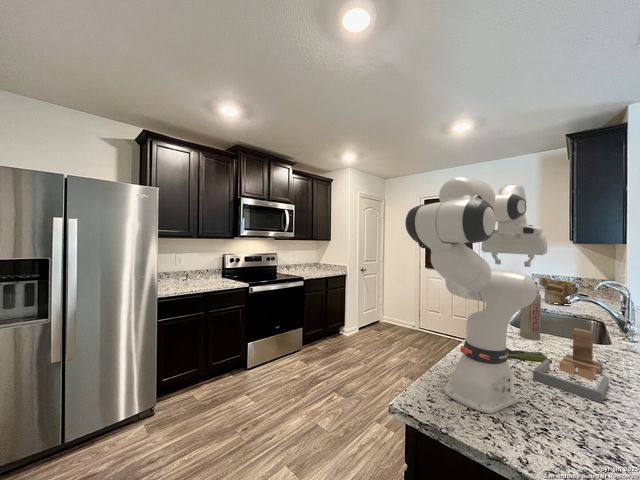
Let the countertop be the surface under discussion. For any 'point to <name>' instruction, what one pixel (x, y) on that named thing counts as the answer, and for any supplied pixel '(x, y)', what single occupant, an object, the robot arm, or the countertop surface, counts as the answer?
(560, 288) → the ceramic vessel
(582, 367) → the offcut right
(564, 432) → the countertop surface
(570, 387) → the grey u-shaped frame
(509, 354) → the gun
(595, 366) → the wooden post block
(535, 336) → the thermos bottle
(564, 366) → the offcut left
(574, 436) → the countertop surface
